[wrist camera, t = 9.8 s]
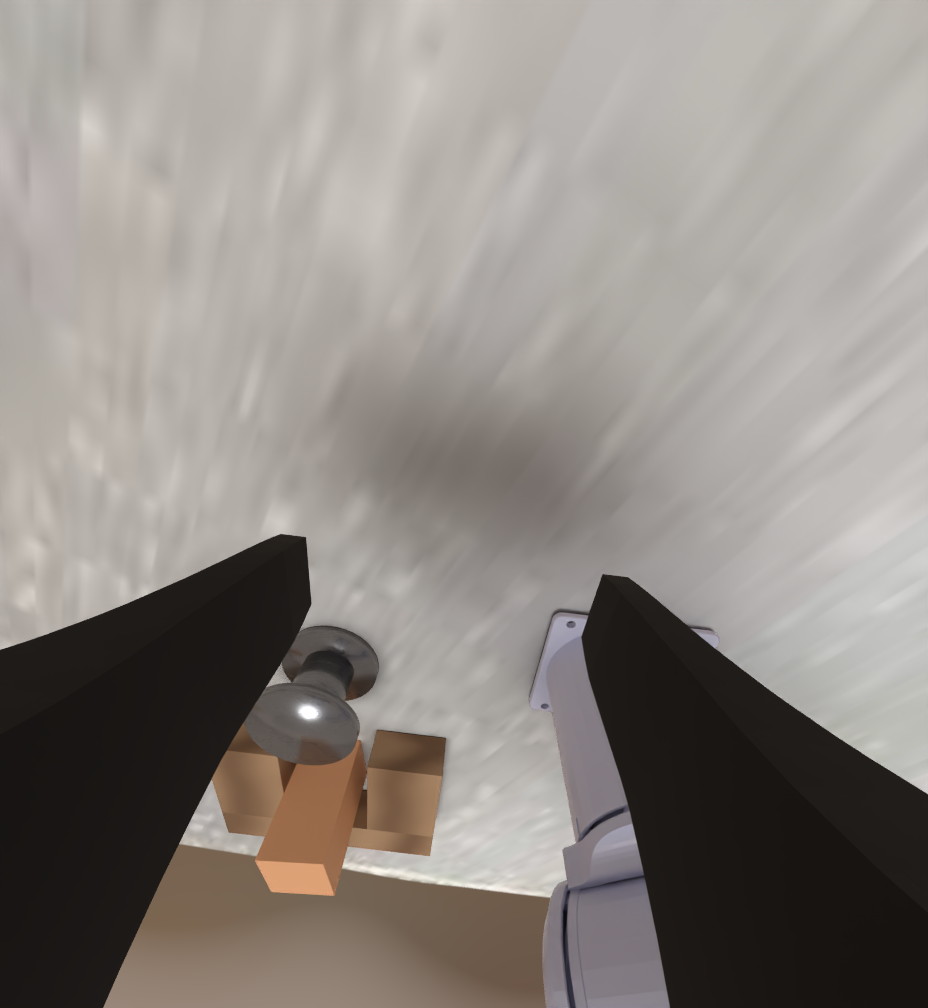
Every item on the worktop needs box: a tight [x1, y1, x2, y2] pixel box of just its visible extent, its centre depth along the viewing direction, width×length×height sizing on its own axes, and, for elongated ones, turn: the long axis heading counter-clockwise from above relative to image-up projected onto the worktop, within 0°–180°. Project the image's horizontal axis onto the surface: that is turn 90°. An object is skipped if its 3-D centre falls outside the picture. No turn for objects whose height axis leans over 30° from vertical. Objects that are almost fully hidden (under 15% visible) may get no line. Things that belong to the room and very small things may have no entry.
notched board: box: [212, 723, 446, 856], centre depth 28 cm, size 16×11×2 cm
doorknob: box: [244, 626, 379, 765], centre depth 22 cm, size 6×6×5 cm
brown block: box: [255, 740, 367, 896], centre depth 25 cm, size 4×4×7 cm
